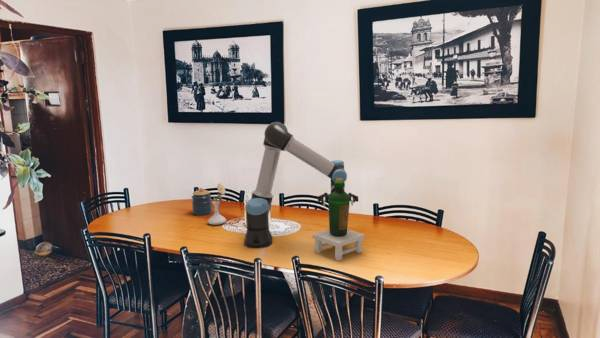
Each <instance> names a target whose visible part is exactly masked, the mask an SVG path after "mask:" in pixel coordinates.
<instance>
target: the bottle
mask: <svg viewBox="0 0 600 338" xmlns="http://www.w3.org/2000/svg"><path fill="white" fill-rule="evenodd" d="M334 186H335V191H334V192H332V193H331V192H330V193H331V194H330V193H329V194H330V195H329V197H328V223H329V224H328V225H329V227H328V228H329V229H328V230H330V234H331V235H333V236H344V235H346V234H347V230H348V228H349V227H348V226H349V225H348V224H349V214H350V212H349V211H350V205H351V201H350V197H349V195H348V193H347V192H346V191H345V192H344V191H343V190H345V186H346V182H344V181H343V179H342V178H336V181H335V182H334Z"/></svg>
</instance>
